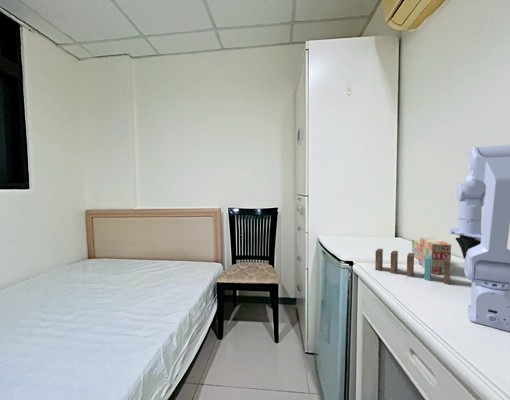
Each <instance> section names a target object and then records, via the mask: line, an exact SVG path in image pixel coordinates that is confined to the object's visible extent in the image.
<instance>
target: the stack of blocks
mask: <svg viewBox="0 0 510 400" xmlns="http://www.w3.org/2000/svg"><path fill="white" fill-rule="evenodd" d="M411 245H412V246H411V247H412V248H411V253H414V258H416V259H417V260H418V261H419V264H418V265H420V266H421V267H422V268H423V269H425V257H426V255H429V256H431V275H438V276H440V275H441V276H444V260H445V258H450V261H451V260H452V259H451V258H452V256H451V255H452V244H450V243H449V242H447V241H446V240H442V239H440V238H438V237H428V236H427V237H425V236H423V237H419V239H412V240H411Z"/></svg>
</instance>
